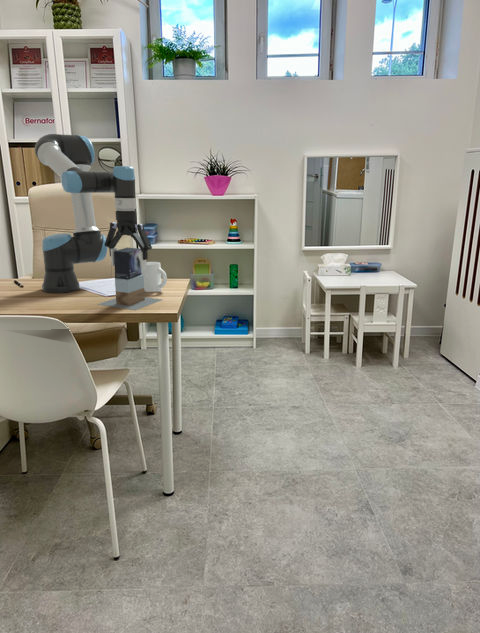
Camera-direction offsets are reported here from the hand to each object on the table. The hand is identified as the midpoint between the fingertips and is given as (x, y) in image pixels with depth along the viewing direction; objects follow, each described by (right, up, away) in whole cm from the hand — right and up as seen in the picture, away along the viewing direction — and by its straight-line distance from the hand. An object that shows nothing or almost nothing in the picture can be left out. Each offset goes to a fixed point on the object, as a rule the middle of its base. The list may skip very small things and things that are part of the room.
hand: (128, 266), depth 183 cm
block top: (0, -8, +2) cm, 9 cm away
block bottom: (0, -13, +4) cm, 14 cm away
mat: (0, -14, +4) cm, 14 cm away
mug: (+6, -8, +23) cm, 26 cm away
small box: (0, -4, +1) cm, 4 cm away
